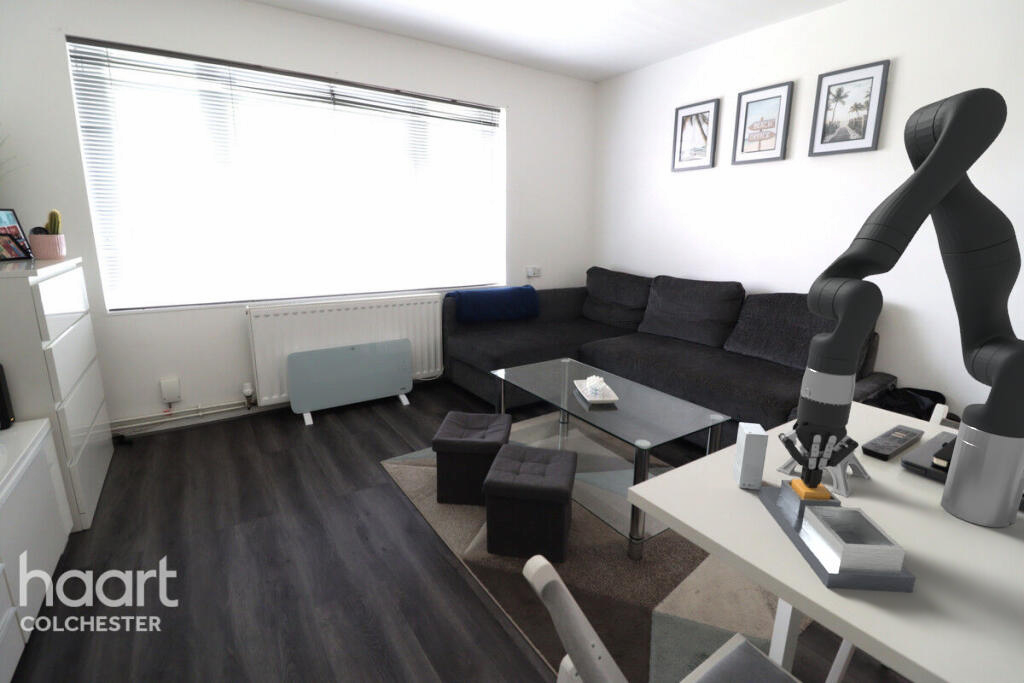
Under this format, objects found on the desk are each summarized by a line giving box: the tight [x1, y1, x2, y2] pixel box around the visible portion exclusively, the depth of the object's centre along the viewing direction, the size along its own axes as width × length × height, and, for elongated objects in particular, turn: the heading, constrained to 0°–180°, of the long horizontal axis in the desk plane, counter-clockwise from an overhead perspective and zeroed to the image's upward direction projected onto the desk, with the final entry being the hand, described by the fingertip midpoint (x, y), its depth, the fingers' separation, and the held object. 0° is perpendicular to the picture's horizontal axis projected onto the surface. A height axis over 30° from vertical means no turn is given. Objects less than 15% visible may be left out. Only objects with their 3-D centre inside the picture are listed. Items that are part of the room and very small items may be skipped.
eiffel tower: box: [776, 445, 871, 498], centre depth 100 cm, size 13×13×30 cm
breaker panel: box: [757, 479, 917, 593], centre depth 82 cm, size 12×24×6 cm, turn 176°
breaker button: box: [791, 478, 832, 500], centre depth 87 cm, size 4×4×3 cm
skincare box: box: [732, 421, 769, 491], centre depth 99 cm, size 6×4×12 cm
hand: (809, 485), depth 87 cm, fingers closed
